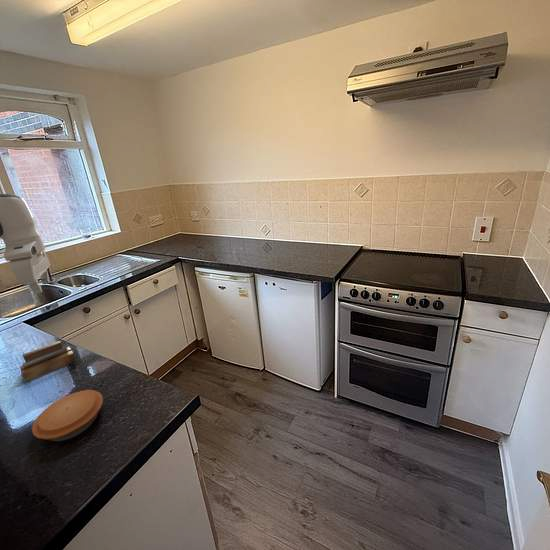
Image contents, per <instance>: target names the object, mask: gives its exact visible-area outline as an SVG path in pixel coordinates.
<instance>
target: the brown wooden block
mask: <svg viewBox="0 0 550 550" xmlns="http://www.w3.org/2000/svg"><path fill="white" fill-rule="evenodd" d="M67 348H68V347H67V346H63V345H62V342H61V341H60V340H58V341H55V342H53V343H50V344H48V345H45V346H43V347H40V348H39V347H38V348H37V349H34V350H31V351H29V352H27V353H24V354H22V358H23V360H24V362H22V363H21V364H22V365H23V367H24V369H28V368H30V367H32V366H35V365H37V364H40V363H42V362H45V361H47V360H50V359H52V358H55V357H57V356H60V355H62V354H65V353H67V352H68V350H67ZM22 365H21V366H22Z"/></svg>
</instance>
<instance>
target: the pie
mask: <svg viewBox="0 0 550 550" xmlns="http://www.w3.org/2000/svg"><path fill="white" fill-rule="evenodd" d="M103 404H104V397H103V395H102V393H101V392H99V391H97V390H93V389H85V390H80V391H76V392H73V393H71V394H68V395H65V396H63V397H61V398H60V399H58V400H56V401H54V402H52V403H51V404H50V405H49V406H47V407H46V408H45V409H44V410H42V411H41V413H40V414H39V415H38V416H37V417H36V419H35V420H34V422H33V424H32V427H31V431H32V435H33V436H34V437H35V438H36V439H41V440H48V441H52V442H64V441H68V440H70V439H73V438H74V437H76V436H78V435H79V436H80V435H81V434H82V433H83V432H85V431H87V429H89V428H90V427H91V426H92V425H93V423H94V422H95V420H96V419H97V417H98V414H99V412H100V411H101V408H102V406H103Z"/></svg>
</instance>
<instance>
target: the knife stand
mask: <svg viewBox="0 0 550 550" xmlns="http://www.w3.org/2000/svg"><path fill="white" fill-rule="evenodd" d="M67 350H68V352H67V353H65V354H62V355H60V356H57V357H55V358H52V359H50V360H47V361H45V362H42V363H40V364H37V365H35V366H32V367H30V368H28V369H24V367H23V365H20V366H19V369H20V375H21V377H22V379H23V381H24V383H27V382H30V381H32V380H34V379H36V378H40V377H41V376H44V375H46V374H48V373H50V372H53V371H55V370H58V369H60V368H63V367H65V366H67V365H69V364H72V363H74V362H76V361H77V358H76V357H75V354H74V352H73V349H72V348H71V346H68V347H67Z"/></svg>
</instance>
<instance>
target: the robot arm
mask: <svg viewBox="0 0 550 550" xmlns="http://www.w3.org/2000/svg"><path fill="white" fill-rule="evenodd" d="M0 239H1V240H2V241H3V243H4V246H5V250H4V252H3V257H4V260H5V261H6V262H9V266H10V268H11V270H12V273H13V275H14V276H15V279H16V281H17V282H18V283H19V284H20V285H21V286H26V285H28V287H30V289H31V290H32V291H33V293H34V295H40V294H42V292H43V289H42V286H41V285H49V283H50V282H51V281H50V279H49V272H48V270H49V268H50V267H51V262H50V259H49V257H48V255H47V253H46V251H45V250H46V247H45V244H44V242H43V239H42V237H41V234H40V233H39V231H38V230H37V228H36V225H35V219H34V217H33V214H32V212H31V209H30V208H29V206H28V204H27V202H26V201H25V200H24V198H23V197H21V196H19V195H17V194H12V193H0ZM39 279H40V282H41V285H40V284H39V281H38V280H39Z"/></svg>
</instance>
